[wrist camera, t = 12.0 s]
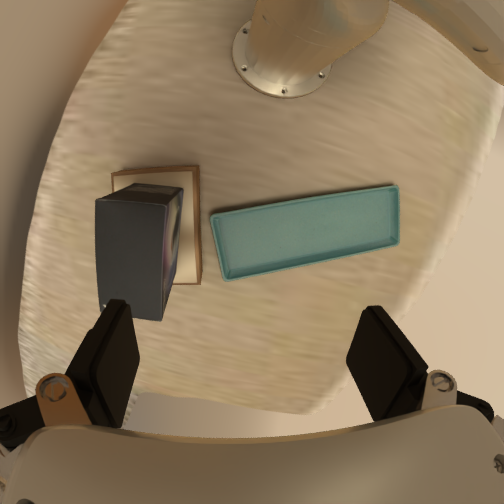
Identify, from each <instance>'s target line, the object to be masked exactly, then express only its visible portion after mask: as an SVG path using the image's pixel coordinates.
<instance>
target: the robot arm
mask: <svg viewBox="0 0 504 504" xmlns="http://www.w3.org/2000/svg"><path fill="white" fill-rule="evenodd" d="M392 1H394V2H396V3H397V4H399V5H400V6H402V7H403V8H405V9H406V10H408V11H409V12H411V13H414V14H415V15H417V16H418V17H420V18H421V19H422V20H424V21H425V22H426V23H428V24H429V25H430V26H432V27H433V28H434V29H435V30H437V31H438V32H439V33H440V34H442V35H443V36H444V37H445V38H446V39H448V40H449V41H450V42H451V43H452V44H453V45H454V46H456V47H457V48H458V49H459V50H460V51H461V52H462V53H463V54H464V55H466V56H467V57H468V58H469V59H470V60H471V61H472V62H473V63H474V64H475V65H476V66H477V67H478V68H479V69H481V70H482V71H483V72H484V73H485V74H486V75H488V76H489V77H490V78H491V79H493V80H494V81H496V82H497V83H499V84H501V85H503V86H504V0H392ZM388 8H389V0H257V1H256V5H255V9H254V13H253V17H252V19H251V20H249V21H248V22H246V23H245V24H244V25H243V26H242V27H241V28H240V30H239V31H238V32H237V34H236V36H235V39H234V41H233V47H232V57H233V62H234V65H235V67H236V70H237V72H238V73H239V74H240V76H241V77H242V79H243V80H244V81H245V82H246V83H247V84H248V85H250V86H251V87H253V88H254V89H256V90H257V91H259V92H261V93H263V94H266V95H269V96H272V97H277V98H296V97H301V96H304V95H307V94H309V93H311V92H313V91H314V90H316V89H317V88H319V87H320V86H321V85H322V84H323V83H324V82H325V81H326V79H327V78H328V76H329V73H330V71H331V67H332V62H334V61H335V60H337V59H338V58H339V57H341V56H342V55H344V54H345V53H347V52H348V51H350V50H351V49H353V48H354V47H356V46H357V45H359V44H360V43H362V42H363V41H365V40H366V39H368V38H370V37H371V36H372V35H374V34H375V33H376V32H377V31H378V30H379V29H380V28H381V26H382V25H383V23H384V21H385V19H386V16H387V13H388ZM244 32H246V33H247V34H244ZM242 69H246V71H245V72H244V71H242ZM318 75H320V76H321V78H320V77H319V76H318ZM281 91H284V92H285V93H284V94H282V93H281ZM139 362H140V355H139V350H138V345H137V340H136V335H135V330H134V324H133V319H132V313H131V307H130V304H126V301H125V300H122V299H110V300H109V302H108V303H107V305H106V307H105V308H104V310H103V312H102V313H101V315H100V317H99V318H98V320H97V322H96V323H95V325H94V327H93V329H90V330H89V331H88V332H87V334H86V336H85V338H84V339H83V341H82V343H81V345H80V346H79V348H78V350H77V352H76V354H75V356H74V357H73V359H72V361H71V363H70V365H69V367H68V369H67V371H66V372H65V374H61V373H51V374H48V375H46V376H44V377H43V378H41V379H40V380H39V382H38V383H37V385H36V389H35V391H36V395H35V396H32V397H30V398H27V399H25V400H22V401H20V402H17V403H15V404H12V405H9V406H7V407H4V408H2V409H0V504H504V419H502V418H501V417H499V416H498V415H496V416H495V417H494V411H493V409H492V407H491V406H490V404H489V403H487V402H486V401H484V400H482V399H479V398H476V397H473V396H471V395H468V394H465V393H462V392H460V391H457V384H456V381H455V379H454V378H453V377H452V375H450V374H449V373H447V372H445V371H442V370H433V371H431V372H430V373H429V374H428V373H427V372H426V370H427V369H428V365H427V364H426V363H425V361H424V360H423V359H422V357H421V356H420V355H419V353H418V352H417V351H416V349H415V348H414V347H413V345H412V344H411V343H410V342H409V340H408V339H407V338H406V336H405V335H404V334H403V332H402V331H401V330H400V329H399V328H398V326H397V325H396V324H395V322H394V321H393V320H392V319H391V317H390V316H389V315H388V314H387V312H386V311H385V310H384V309H383V308H382V306H379V305H378V306H367V307H366V309H365V310H363V311H362V314H361V317H360V320H359V323H358V326H357V329H356V332H355V335H354V338H353V340H352V343H351V346H350V349H349V351H348V354H347V357H346V364H347V366H348V368H349V370H350V372H351V374H352V376H353V378H354V381H355V382H356V385H357V387H358V389H359V391H360V393H361V395H362V397H363V400H364V402H365V404H366V406H367V408H368V410H369V412H370V415H371V417H372V419H373V421H374V422H372V423H368V424H363V425H359V426H353V427H348V428H342V429H337V430H330V431H324V432H317V433H309V434H300V435H291V436H279V437H262V438H200V437H183V436H172V435H161V434H153V433H145V432H137V431H130V430H124V429H118V428H121V426H122V423H123V419H124V415H125V411H126V408H127V404H128V400H129V397H130V393H131V390H132V386H133V383H134V379H135V376H136V372H137V369H138V366H139Z"/></svg>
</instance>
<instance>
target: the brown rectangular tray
mask: <svg viewBox="0 0 504 504" xmlns="http://www.w3.org/2000/svg"><path fill="white" fill-rule="evenodd" d="M111 178H112V193H113V192H115V191H118V190H120V189H123V188H125V187H127V186H129V185H131V184H133V183H141V184H153V185H163V186H172V187H181V188H183V189H184V193H183V203H182V213H181V224H180V235H179V246H178V258H177V270H176V275H175V278H174V281H173V284H172V285H201V278H202V271H203V270H202V251H201V226H200V187H199V166H174V167H157V168H143V169H131V170H122V171H118V172H114V173H111Z"/></svg>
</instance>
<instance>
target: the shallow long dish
mask: <svg viewBox="0 0 504 504" xmlns="http://www.w3.org/2000/svg"><path fill="white" fill-rule="evenodd" d="M399 197H400V195H399V187H398V186H397V185H393V186H386V187H379V188H371V189H363V190H356V191H349V192H342V193H335V194H328V195H322V196H315V197H308V198H302V199H296V200H290V201H284V202H278V203H273V204H267V205H261V206H256V207H250V208H245V209H239V210H234V211H228V212H223V213H215V214H213V215H211V216H210V223H211V228H212V232H213V236H214V240H215V244H216V249H217V253H218V258H219V263H220V268H221V272H222V277H223V280H224V281H225V282H229V281H234V280H239V279H244V278H248V277H253V276H258V275H264V274H268V273H274V272H278V271H282V270H287V269H292V268H297V267H302V266H307V265H312V264H316V263H321V262H326V261H331V260H335V259H340V258H345V257H350V256H354V255H358V254H363V253H368V252H372V251H377V250H381V249H385V248H389V247H394V246H397V245H399V243H400V198H399Z"/></svg>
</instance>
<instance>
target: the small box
mask: <svg viewBox="0 0 504 504" xmlns="http://www.w3.org/2000/svg"><path fill="white" fill-rule="evenodd" d="M183 193H184V189H183V188H181V187H172V186H163V185H153V184H141V183H133V184H131V185H129V186H127V187H125V188H123V189H120V190H118V191H115V192H113V193H111V194H109V195H107V196H104V197H102V198H98V199H96V200H95V257H96V273H97V287H98V297H99V306H100V312H101V313H102V312H103V310H104V308H105V307H106V305H107V303H108V302H109V300H110V299H122V300H125V301H126V304H130V307H131V313H132V318H137V319H144V320H151V321H159V322H161V321H162V318H163V314H164V311H165V308H166V304H167V301H168V297H169V294H170V291H171V287H172V284H173V281H174V278H175V275H176V270H177V258H178V246H179V235H180V224H181V213H182V203H183Z"/></svg>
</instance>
